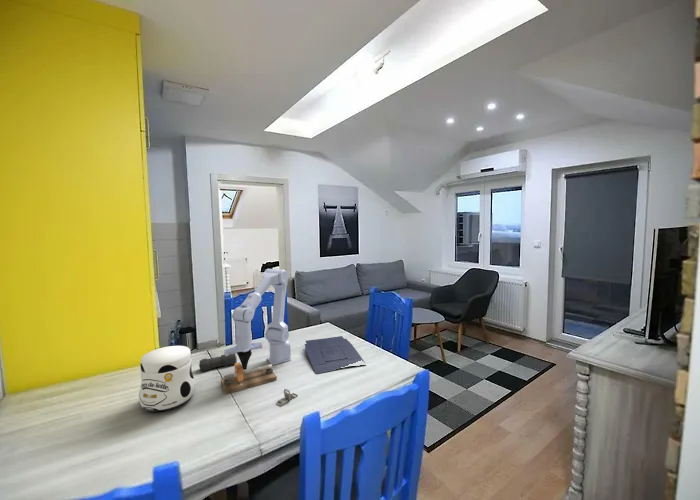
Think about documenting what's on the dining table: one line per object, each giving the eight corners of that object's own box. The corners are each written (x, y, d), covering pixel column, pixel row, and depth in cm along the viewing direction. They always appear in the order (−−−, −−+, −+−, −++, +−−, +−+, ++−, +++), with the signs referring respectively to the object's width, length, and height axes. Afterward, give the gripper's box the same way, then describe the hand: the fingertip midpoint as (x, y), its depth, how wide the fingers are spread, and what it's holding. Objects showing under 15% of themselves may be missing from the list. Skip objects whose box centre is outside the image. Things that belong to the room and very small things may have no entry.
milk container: (135, 422, 97) (132, 369, 96) (143, 395, 112) (141, 349, 111) (195, 407, 105) (193, 358, 104) (195, 384, 120) (193, 341, 119)
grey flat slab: (345, 340, 166) (345, 334, 165) (366, 370, 138) (366, 363, 137) (301, 346, 157) (301, 339, 156) (315, 379, 130) (315, 371, 129)
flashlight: (200, 374, 129) (200, 362, 129) (198, 369, 134) (198, 357, 133) (237, 365, 138) (236, 353, 137) (234, 360, 142) (234, 349, 142)
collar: (239, 374, 124) (239, 362, 123) (243, 381, 119) (243, 368, 118) (234, 376, 123) (234, 363, 122) (238, 382, 118) (237, 369, 117)
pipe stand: (269, 370, 133) (269, 359, 132) (276, 379, 124) (276, 368, 124) (221, 382, 122) (220, 370, 122) (225, 394, 114) (225, 381, 113)
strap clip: (280, 407, 106) (280, 396, 105) (275, 404, 108) (275, 393, 107) (298, 396, 113) (298, 386, 112) (292, 394, 114) (292, 383, 114)
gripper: (226, 343, 113) (227, 377, 114) (264, 335, 121) (264, 368, 122) (223, 337, 119) (223, 370, 120) (259, 330, 127) (259, 361, 128)
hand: (244, 368), depth 122 cm, fingers closed
